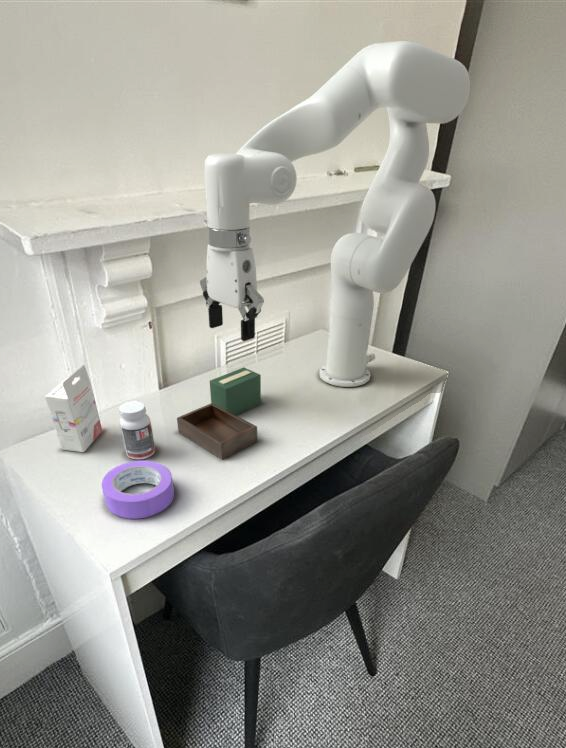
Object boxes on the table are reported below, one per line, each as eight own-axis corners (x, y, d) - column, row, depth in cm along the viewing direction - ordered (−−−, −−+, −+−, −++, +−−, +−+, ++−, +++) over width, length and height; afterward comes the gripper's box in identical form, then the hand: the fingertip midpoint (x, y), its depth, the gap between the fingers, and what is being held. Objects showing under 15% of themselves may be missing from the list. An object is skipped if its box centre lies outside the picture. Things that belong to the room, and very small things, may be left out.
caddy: (213, 417, 108) (212, 402, 105) (257, 441, 100) (257, 426, 98) (178, 432, 103) (176, 417, 100) (222, 459, 95) (220, 444, 93)
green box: (244, 395, 116) (243, 366, 111) (260, 403, 113) (260, 373, 108) (211, 410, 110) (209, 379, 106) (227, 418, 107) (226, 388, 103)
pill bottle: (161, 453, 97) (153, 407, 90) (135, 464, 94) (126, 417, 87) (146, 441, 100) (137, 396, 94) (120, 451, 97) (110, 406, 91)
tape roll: (188, 495, 86) (186, 477, 84) (133, 528, 80) (129, 510, 77) (146, 470, 92) (143, 452, 90) (92, 498, 86) (87, 480, 83)
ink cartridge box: (81, 428, 104) (63, 361, 94) (103, 431, 103) (87, 363, 94) (60, 450, 97) (38, 380, 88) (83, 453, 97) (64, 383, 87)
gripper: (277, 243, 87) (275, 339, 98) (214, 228, 96) (218, 318, 107) (246, 249, 83) (247, 349, 94) (183, 233, 92) (190, 326, 103)
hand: (231, 332), depth 100 cm, fingers open, 9 cm apart
